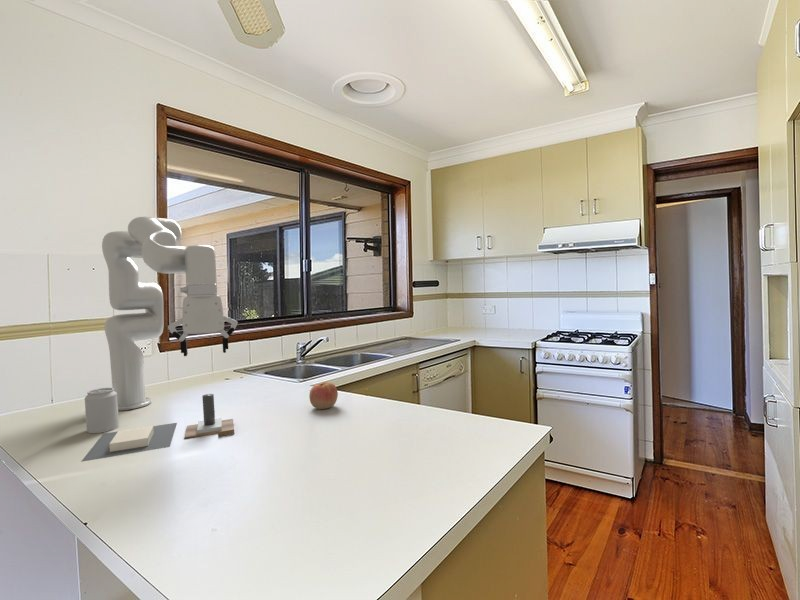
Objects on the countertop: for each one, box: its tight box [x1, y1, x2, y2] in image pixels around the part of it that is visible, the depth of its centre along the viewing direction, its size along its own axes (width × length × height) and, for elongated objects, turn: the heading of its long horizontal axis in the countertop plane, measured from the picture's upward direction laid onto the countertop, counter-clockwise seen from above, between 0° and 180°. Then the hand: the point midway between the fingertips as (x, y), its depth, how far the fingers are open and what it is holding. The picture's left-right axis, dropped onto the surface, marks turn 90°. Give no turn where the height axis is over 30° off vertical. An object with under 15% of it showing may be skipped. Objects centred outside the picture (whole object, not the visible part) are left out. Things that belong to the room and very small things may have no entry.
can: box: [84, 387, 120, 434], centre depth 119 cm, size 8×8×12 cm
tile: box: [109, 425, 154, 452], centre depth 108 cm, size 2×8×10 cm
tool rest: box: [184, 418, 235, 440], centre depth 116 cm, size 10×12×1 cm
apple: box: [308, 381, 339, 410], centre depth 134 cm, size 9×9×8 cm
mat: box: [80, 422, 178, 462], centre depth 110 cm, size 20×18×1 cm
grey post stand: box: [197, 393, 223, 434], centre depth 116 cm, size 8×6×9 cm
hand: (205, 353), depth 115 cm, fingers open, 9 cm apart
